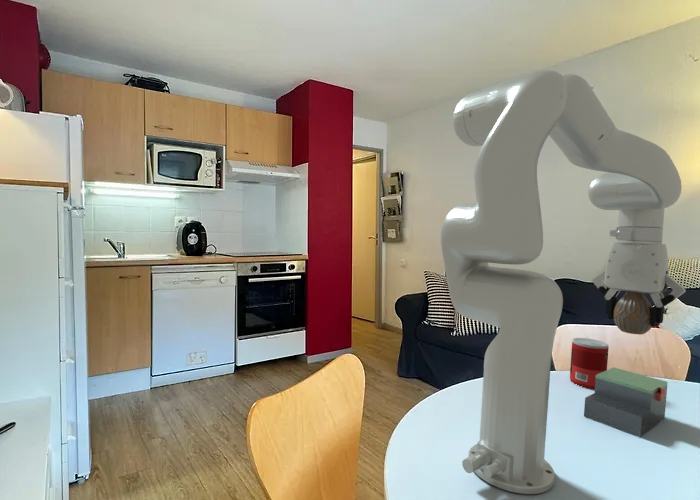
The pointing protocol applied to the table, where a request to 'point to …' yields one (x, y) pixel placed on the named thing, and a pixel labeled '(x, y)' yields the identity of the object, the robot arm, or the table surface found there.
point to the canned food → (587, 361)
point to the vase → (633, 313)
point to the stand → (627, 401)
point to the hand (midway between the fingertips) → (633, 321)
